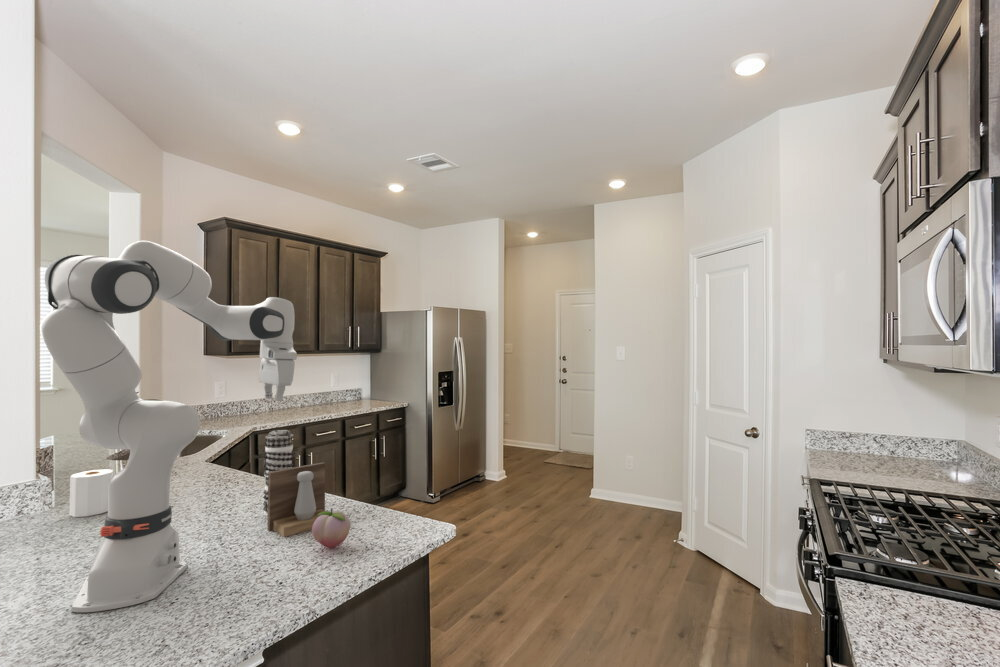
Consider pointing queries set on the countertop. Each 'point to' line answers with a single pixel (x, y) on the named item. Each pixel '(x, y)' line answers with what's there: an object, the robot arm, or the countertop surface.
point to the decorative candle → (277, 456)
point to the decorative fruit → (331, 528)
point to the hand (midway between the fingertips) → (273, 399)
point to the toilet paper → (89, 492)
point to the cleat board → (293, 498)
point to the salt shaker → (305, 497)
